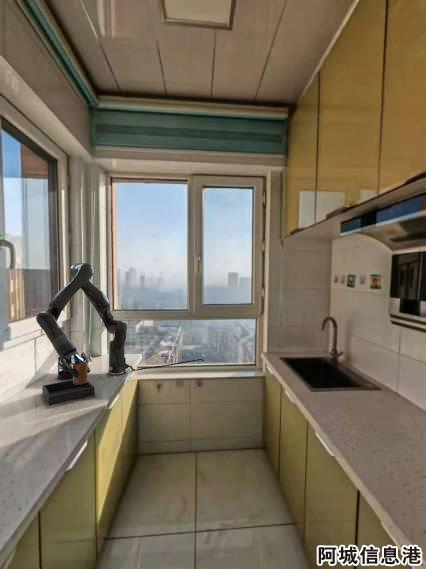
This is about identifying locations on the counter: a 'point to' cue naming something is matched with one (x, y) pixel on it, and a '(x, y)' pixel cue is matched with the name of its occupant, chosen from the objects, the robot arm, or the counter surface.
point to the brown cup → (81, 372)
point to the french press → (63, 373)
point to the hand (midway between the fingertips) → (83, 374)
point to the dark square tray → (66, 391)
